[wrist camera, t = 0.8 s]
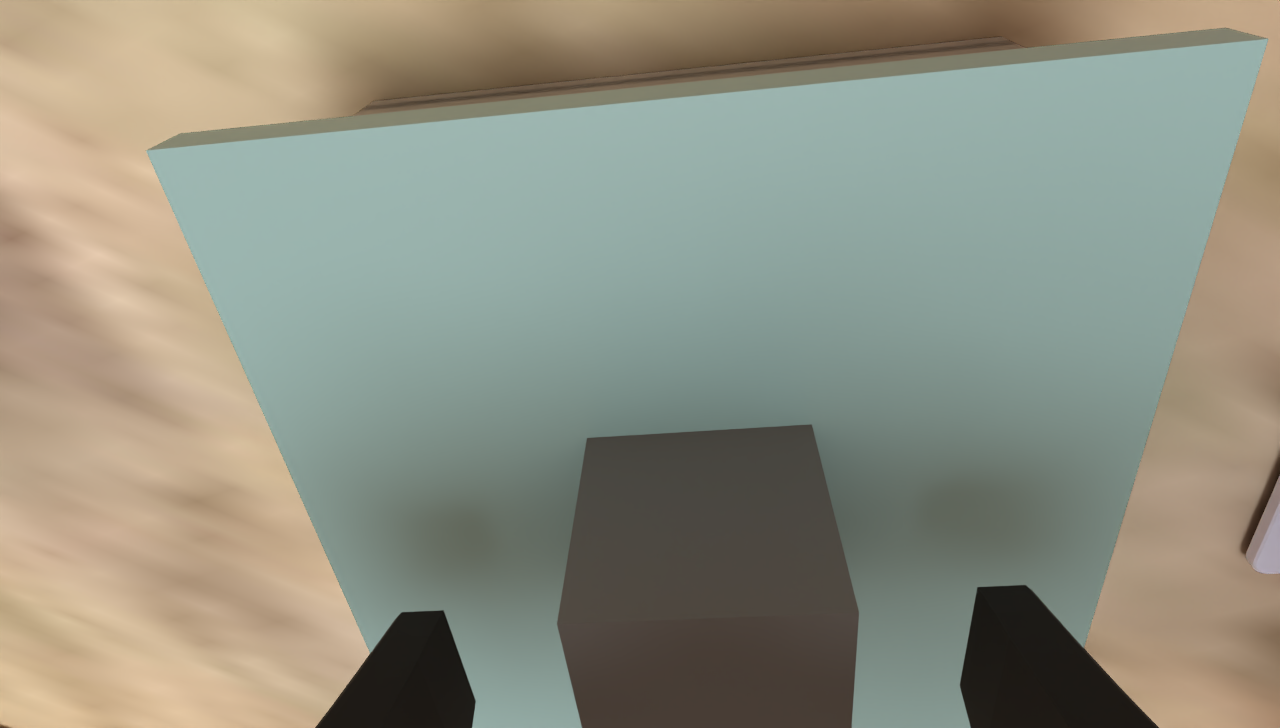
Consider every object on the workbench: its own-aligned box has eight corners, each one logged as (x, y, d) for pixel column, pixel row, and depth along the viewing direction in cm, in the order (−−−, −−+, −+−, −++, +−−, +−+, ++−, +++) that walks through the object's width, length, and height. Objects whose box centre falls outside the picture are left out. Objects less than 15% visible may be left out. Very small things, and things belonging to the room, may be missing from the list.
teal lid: (1225, 27, 9) (1589, 122, 6) (1039, 707, 16) (1146, 948, 13) (180, 133, 11) (-90, 267, 7) (426, 724, 18) (360, 948, 14)
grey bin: (1001, 36, 14) (1141, 101, 10) (937, 518, 20) (1006, 685, 16) (373, 100, 15) (256, 184, 11) (496, 540, 21) (452, 701, 17)
